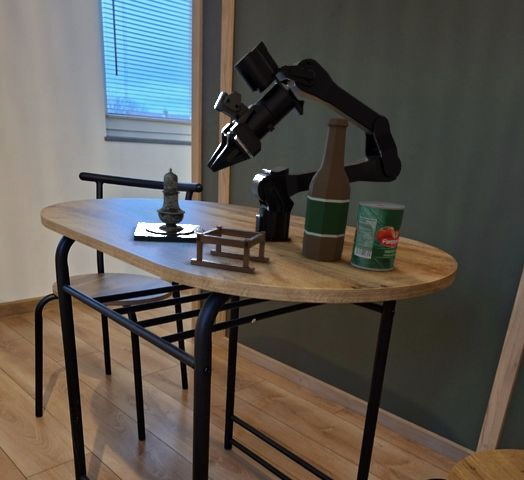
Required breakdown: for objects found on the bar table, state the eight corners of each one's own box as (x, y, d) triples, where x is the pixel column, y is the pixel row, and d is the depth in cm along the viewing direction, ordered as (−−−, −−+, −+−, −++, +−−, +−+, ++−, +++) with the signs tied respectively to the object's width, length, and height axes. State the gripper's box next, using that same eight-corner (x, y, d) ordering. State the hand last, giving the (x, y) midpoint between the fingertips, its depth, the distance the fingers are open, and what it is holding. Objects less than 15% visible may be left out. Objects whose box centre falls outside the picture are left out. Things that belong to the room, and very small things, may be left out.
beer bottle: (343, 255, 93) (362, 121, 84) (338, 263, 86) (359, 118, 77) (305, 250, 95) (319, 118, 85) (297, 258, 88) (312, 115, 78)
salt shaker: (171, 225, 103) (171, 166, 98) (191, 229, 100) (191, 169, 95) (150, 227, 99) (149, 166, 94) (170, 232, 96) (169, 169, 91)
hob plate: (201, 229, 107) (201, 224, 107) (205, 242, 95) (205, 236, 94) (138, 227, 105) (137, 221, 104) (133, 240, 92) (133, 233, 92)
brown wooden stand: (212, 253, 87) (213, 224, 85) (269, 261, 84) (271, 232, 82) (190, 264, 79) (190, 232, 77) (252, 273, 76) (254, 241, 74)
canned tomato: (354, 258, 92) (363, 199, 87) (395, 264, 89) (407, 204, 85) (346, 266, 85) (355, 203, 80) (390, 273, 82) (402, 208, 78)
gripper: (234, 81, 98) (180, 135, 101) (247, 71, 82) (183, 136, 84) (268, 126, 103) (216, 176, 105) (287, 125, 86) (225, 185, 89)
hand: (210, 168), depth 96 cm, fingers open, 9 cm apart
